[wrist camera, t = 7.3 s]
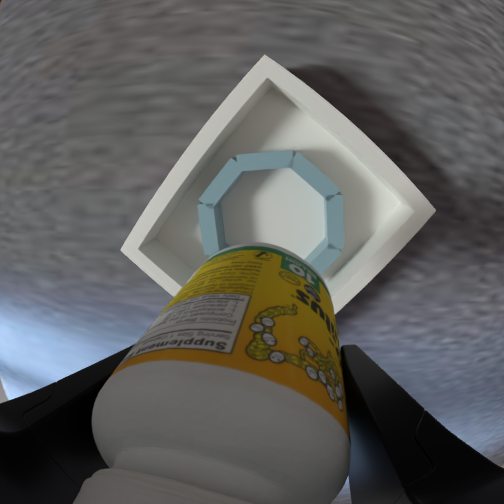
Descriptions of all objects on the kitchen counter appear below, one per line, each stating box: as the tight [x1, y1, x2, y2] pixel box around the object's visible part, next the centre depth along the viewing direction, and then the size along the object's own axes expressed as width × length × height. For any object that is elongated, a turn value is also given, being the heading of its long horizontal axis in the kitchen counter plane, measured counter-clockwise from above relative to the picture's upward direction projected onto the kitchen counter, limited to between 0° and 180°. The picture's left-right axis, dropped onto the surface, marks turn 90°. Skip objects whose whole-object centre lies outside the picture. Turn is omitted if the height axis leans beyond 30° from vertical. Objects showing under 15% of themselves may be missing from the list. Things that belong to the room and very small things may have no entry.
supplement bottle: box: [73, 242, 351, 504], centre depth 7 cm, size 5×5×10 cm
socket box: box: [121, 55, 436, 314], centre depth 19 cm, size 15×13×4 cm
